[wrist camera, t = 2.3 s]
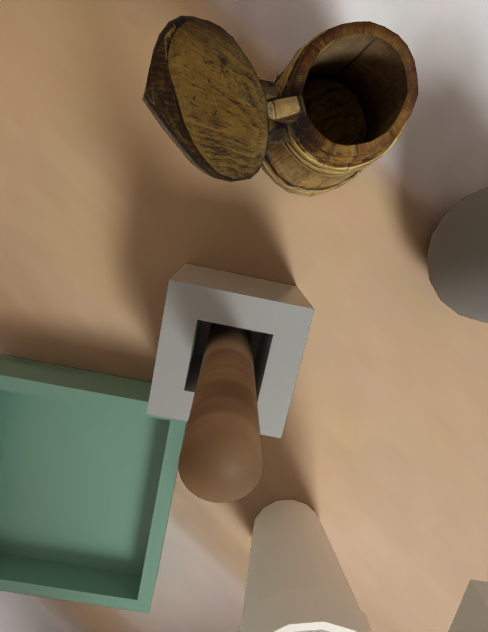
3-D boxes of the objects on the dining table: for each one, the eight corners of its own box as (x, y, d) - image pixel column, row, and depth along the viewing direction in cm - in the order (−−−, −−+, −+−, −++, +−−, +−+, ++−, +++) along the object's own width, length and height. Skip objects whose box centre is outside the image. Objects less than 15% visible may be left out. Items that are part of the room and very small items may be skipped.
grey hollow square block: (271, 388, 36) (281, 438, 28) (166, 368, 35) (146, 413, 27) (296, 286, 33) (314, 309, 26) (185, 263, 33) (169, 279, 25)
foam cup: (215, 526, 39) (205, 678, 26) (289, 466, 37) (316, 596, 25) (283, 586, 41) (304, 754, 28) (357, 530, 39) (413, 681, 27)
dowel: (245, 354, 34) (253, 509, 16) (206, 346, 34) (171, 495, 16) (254, 316, 33) (271, 436, 16) (213, 308, 33) (186, 420, 15)
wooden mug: (179, 94, 30) (97, -67, 12) (366, 49, 29) (553, -185, 12) (208, 219, 32) (173, 230, 15) (383, 179, 32) (563, 142, 14)
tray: (156, 579, 40) (149, 613, 37) (-13, 552, 39) (-37, 584, 36) (193, 390, 36) (188, 409, 32) (1, 354, 34) (-25, 370, 31)
